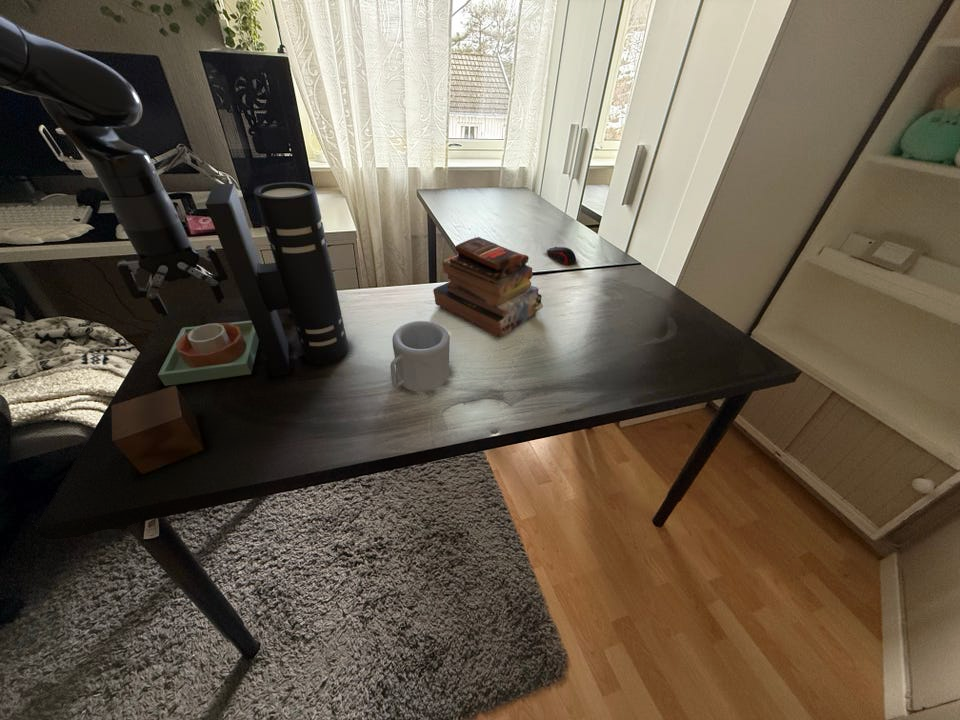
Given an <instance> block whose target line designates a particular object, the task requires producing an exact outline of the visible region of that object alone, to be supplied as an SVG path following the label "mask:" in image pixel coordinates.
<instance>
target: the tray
mask: <svg viewBox="0 0 960 720" xmlns="http://www.w3.org/2000/svg"><path fill="white" fill-rule="evenodd" d="M229 323H230V324H232V325H235V326H238V327H239V329H240V331H241V333H242V336H243V338H244V340H245V343H246V350H245V352H244V353H243V355H242V356H241V357H239V358H238V359H237V360H235V361H234V362H232V363H228V364H220V365H213V366H205V367H197V368H191V367H189V366H188V365H187V364H185V363H184V361H183V360H182V358H181V356H180V354H179V353H178V350H177V346H176V343H177V342H178V341H179V339H180V338H181V337H182V336H183V335H184V334H186V333H188V332H189V331H191V330H193V329H195V328H197V327H199V326H200V325H196V326H195V325H194V326H185V327H182V328H181V329H180V332H179V333H178V335H177V337H176V339H175V341H174V343H173V345H172V347H171V349H170V351H169V352H168V355H167V356H166V358H165V360H164V362H163V364H162V366H161V368H160V370H159V372H158V373H157V376H158V378H159V380H160V381H161V382H162V384H163V385H164V387H170V386H176V385H182V384H189V383H197V382H204V381H211V380H219V379H226V378H233V377H239V376H246V375H247V376H248V375H252V372H253V368H254V364H255V359H256V356H257V351H258V348H259V344H260V342H259V339H258V337H257V334H256V332H255V329H254V326H253V324H252V321H251V320H243V321H233V322H229Z"/></svg>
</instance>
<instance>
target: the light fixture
mask: <svg viewBox="0 0 960 720" xmlns="http://www.w3.org/2000/svg"><path fill="white" fill-rule="evenodd" d="M253 195H254V198H255V202H256V205H257V208H258V211H259V215H260V218H261V220H262V224H263V225H264V230H265V234H266V237H267V241H268V242H269V247H270V250H271V253H272V256H273V259H274V262H269V263H261V259H260V257H259V254H258V253H259V252H258V250H257V248H256V245H255V241H254V238H253V235H252V233H251V229H250V227H249V223H248V221H247V218H246V215H245V212H244V211H245V210H244V209H243V205H242V202H241V199H240V196H239V194H238V191H237V188H236V185H235V183H213V185H212V188H211V190H210V192H209V194H208V197H207V199H206V202H205V205H204V206H205V207H206V210H207V212H208V215H209V217H210V220H211V223H212V225H213V228H214V231H215V232H216V236H217V237H218V240H219V242H220V246H221V248H222V251H223V253H224V255H225V258H226V260H227V263H228V266H229V269H230V271H231V273H232V275H233V278H234V281H235V283H236V286H237V288H238V290H239V294H240V296H241V299H242V301H243V303H244V306H245V309H246V311H247V315H248V316H249V319H250V321H252V324H253V326H254V329H255V332H256V334H257V337H258V339H259V344H260V347H261V350H262V352H263V354H264V357H265V360H266V362H267V364H268V367H269V370H270V372H271V375H272V377H273V378H276V377H280V376H286V375H290V360H289V359H290V356H289V355H290V354H289V343H288V340H287V336H286V334H285V330H284V327H283V325H282V322H281V319H280V316H279V313H278V310H285V309H289V311H290V314H291V318H292V321H293V324H294V328H295V331H296V334H297V336H298V340H299V345H300V347H301V350H302V353H303V356H304V357H303V358H304V359H305V360H306V361H307V362H309V363H311V364H313V365H321V366H324V365H330V364H334V363H336V362H339V361H341V360H342V359H343V358H345V357H346V356H347V354H348V352H349V349H350V348H349V343H348V339H347V333H346V329H345V324H344V320H343V316H342V310H341V306H340V305H341V304H340V301H339V300H340V299H339V295H338V290H337V286H336V280H335V276H334V272H333V267H332V261H331V256H330V252H329V248H328V242H327V239H326V233H325V227H324V223H323V222H322V214H321V209H320V204H319V200H318V195H317V189H316V187H315V186H314V185H312V184H309V183H306V182H305V183H304V182H298V181H297V182H296V181H295V182H294V181H285V182H284V181H283V182H274V183H267V184H263V185H261V186H258V187H256V188H255V189H254V190H253Z"/></svg>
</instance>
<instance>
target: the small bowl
mask: <svg viewBox="0 0 960 720" xmlns="http://www.w3.org/2000/svg"><path fill="white" fill-rule="evenodd" d="M198 326H199V327H197V328H195V329H193V330H192V331H190V333H189V334H188V335H187V336H188V340H189V341H190V343H191V345H192V347H193V349H194V351H195V352H196V354H207V353H210V352H214V351H217V350H220V349H223V348H224V347H226V346H228V345H229V344H231V342H230V339H229V337H228V335H227V333H226V331H225V328H224V326H222V325H220V324H212V323H207V324H202V325H198Z"/></svg>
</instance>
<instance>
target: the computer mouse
mask: <svg viewBox="0 0 960 720" xmlns="http://www.w3.org/2000/svg"><path fill="white" fill-rule="evenodd" d="M546 253H547V255H548V256H549V257H551V258H553V259H554V260H555V261H556V262H557V263H559V264H561V265H566V266H568V265H573V264H575V263H576V262H577V257H576V254H575V252H574V251H573V250H572V249H571V248H569V247H565V246H554V247H549V248H548V249H547V250H546Z"/></svg>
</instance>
